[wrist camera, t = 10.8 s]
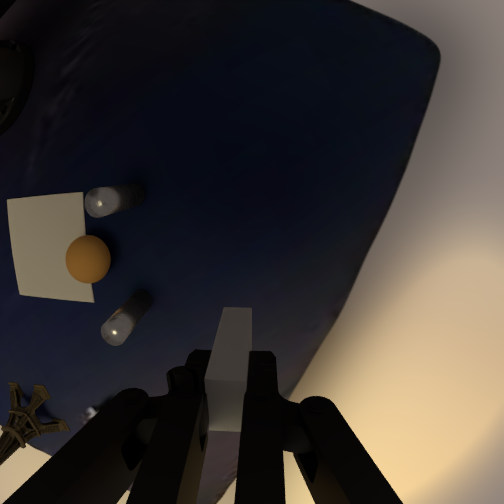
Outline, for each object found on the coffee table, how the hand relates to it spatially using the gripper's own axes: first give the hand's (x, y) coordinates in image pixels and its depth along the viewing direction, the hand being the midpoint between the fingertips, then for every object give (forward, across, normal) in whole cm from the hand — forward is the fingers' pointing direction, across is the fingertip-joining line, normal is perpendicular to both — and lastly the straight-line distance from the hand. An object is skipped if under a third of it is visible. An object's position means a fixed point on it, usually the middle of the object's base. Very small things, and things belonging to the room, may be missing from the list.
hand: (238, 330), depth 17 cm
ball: (+16, -18, 0) cm, 24 cm away
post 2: (+18, -13, -6) cm, 23 cm away
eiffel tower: (+19, -39, -30) cm, 53 cm away
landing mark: (+18, -27, 0) cm, 33 cm away
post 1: (+18, -13, +6) cm, 23 cm away
